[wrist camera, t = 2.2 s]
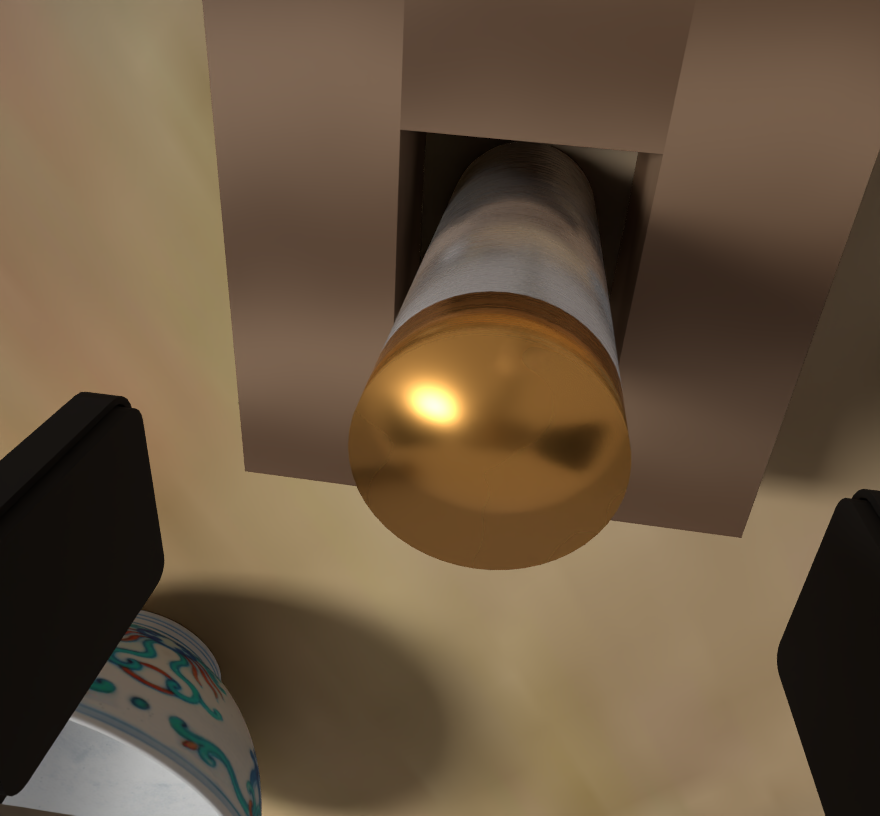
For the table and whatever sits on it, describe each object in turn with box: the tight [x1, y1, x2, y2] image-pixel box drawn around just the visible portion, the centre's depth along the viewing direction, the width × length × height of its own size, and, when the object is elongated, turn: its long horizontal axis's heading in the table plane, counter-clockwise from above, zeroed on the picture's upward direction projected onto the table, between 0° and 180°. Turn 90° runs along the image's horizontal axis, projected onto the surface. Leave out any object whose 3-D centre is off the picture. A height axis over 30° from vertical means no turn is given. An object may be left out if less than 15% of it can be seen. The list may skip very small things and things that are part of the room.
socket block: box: [202, 0, 880, 538], centre depth 19 cm, size 14×14×4 cm
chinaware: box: [2, 610, 262, 816], centre depth 30 cm, size 15×15×8 cm
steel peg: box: [348, 141, 631, 570], centre depth 16 cm, size 4×4×12 cm
